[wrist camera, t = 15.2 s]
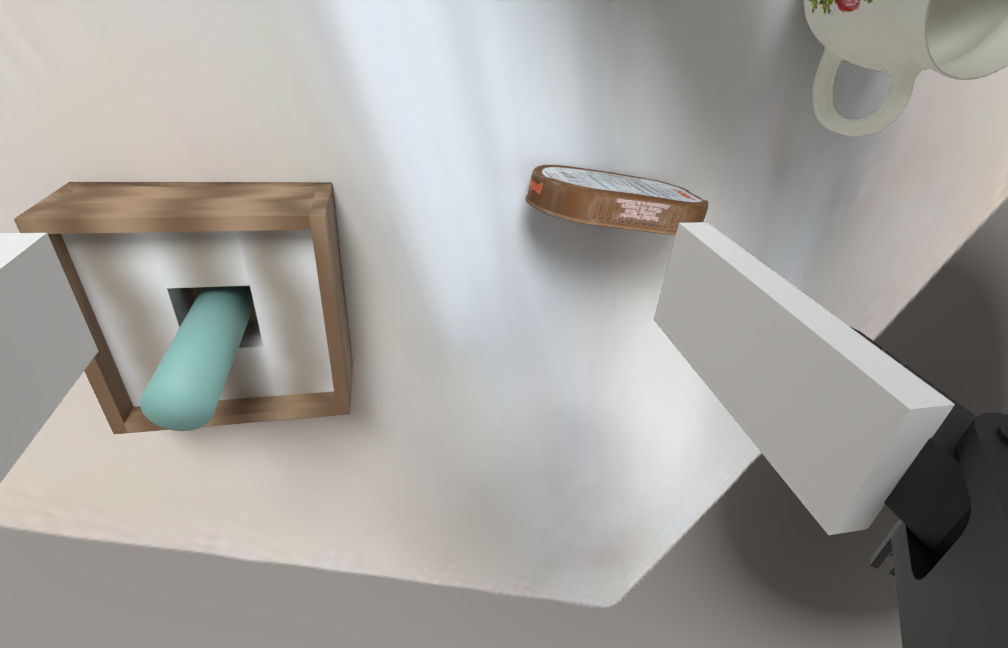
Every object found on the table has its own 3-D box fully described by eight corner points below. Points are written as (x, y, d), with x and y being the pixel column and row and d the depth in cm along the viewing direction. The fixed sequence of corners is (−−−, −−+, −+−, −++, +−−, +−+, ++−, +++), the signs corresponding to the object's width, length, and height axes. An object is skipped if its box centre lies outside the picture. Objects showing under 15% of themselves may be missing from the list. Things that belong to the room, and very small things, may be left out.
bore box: (331, 182, 41) (324, 215, 35) (352, 365, 51) (349, 414, 45) (69, 182, 37) (13, 218, 32) (145, 378, 47) (113, 434, 41)
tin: (514, 188, 44) (540, 227, 38) (522, 151, 43) (550, 184, 36) (669, 209, 49) (717, 248, 42) (681, 176, 47) (734, 210, 40)
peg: (251, 270, 43) (205, 378, 31) (260, 312, 45) (221, 427, 33) (197, 272, 42) (130, 383, 30) (209, 314, 44) (151, 433, 32)
